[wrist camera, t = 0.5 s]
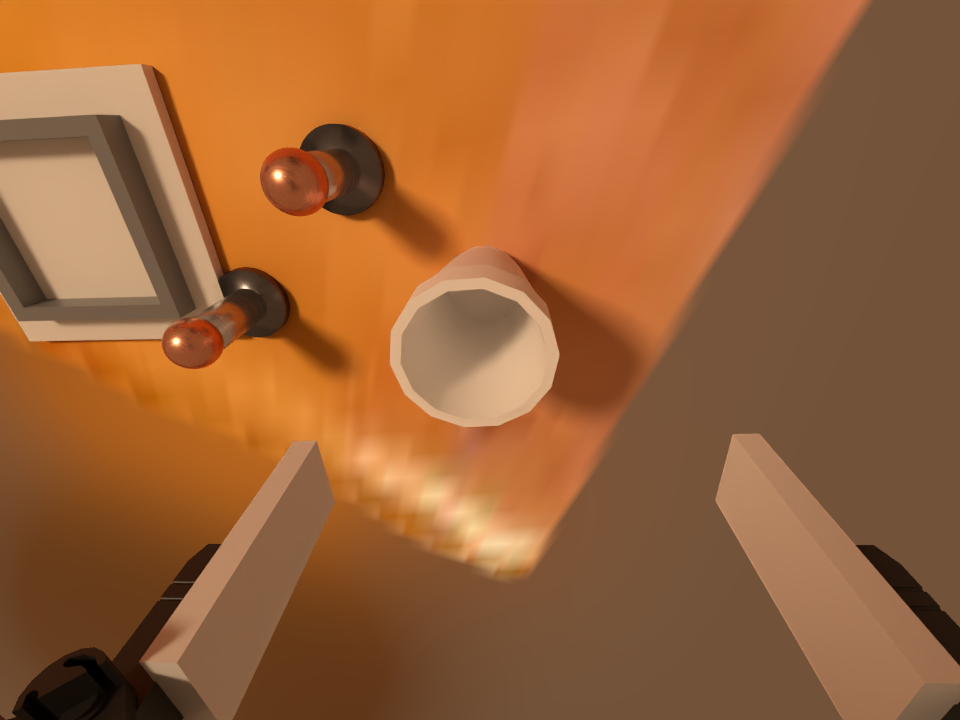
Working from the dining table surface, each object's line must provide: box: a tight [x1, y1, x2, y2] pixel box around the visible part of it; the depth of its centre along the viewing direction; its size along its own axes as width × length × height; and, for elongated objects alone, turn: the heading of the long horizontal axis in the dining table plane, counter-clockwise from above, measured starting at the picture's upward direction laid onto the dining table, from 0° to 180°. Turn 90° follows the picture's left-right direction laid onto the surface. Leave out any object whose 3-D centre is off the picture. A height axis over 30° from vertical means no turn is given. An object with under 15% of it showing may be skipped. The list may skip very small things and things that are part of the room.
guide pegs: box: [162, 124, 385, 369], centre depth 29 cm, size 6×20×10 cm, turn 138°
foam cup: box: [390, 246, 560, 427], centre depth 29 cm, size 10×9×13 cm
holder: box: [0, 64, 224, 341], centre depth 33 cm, size 20×20×3 cm
